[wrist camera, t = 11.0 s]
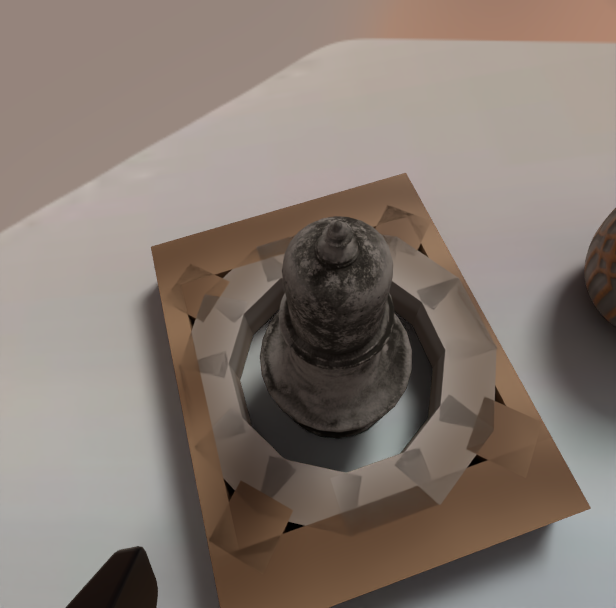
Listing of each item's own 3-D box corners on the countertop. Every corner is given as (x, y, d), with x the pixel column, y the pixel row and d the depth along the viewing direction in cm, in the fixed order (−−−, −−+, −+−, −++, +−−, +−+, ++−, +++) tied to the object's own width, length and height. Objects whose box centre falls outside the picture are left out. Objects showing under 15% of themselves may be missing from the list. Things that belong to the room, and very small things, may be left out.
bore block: (557, 509, 17) (590, 508, 15) (242, 627, 16) (227, 645, 14) (398, 204, 24) (405, 172, 22) (168, 272, 23) (150, 246, 21)
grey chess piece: (247, 405, 20) (145, 275, 9) (309, 301, 22) (287, 95, 11) (365, 471, 18) (413, 411, 8) (419, 353, 20) (517, 174, 10)
